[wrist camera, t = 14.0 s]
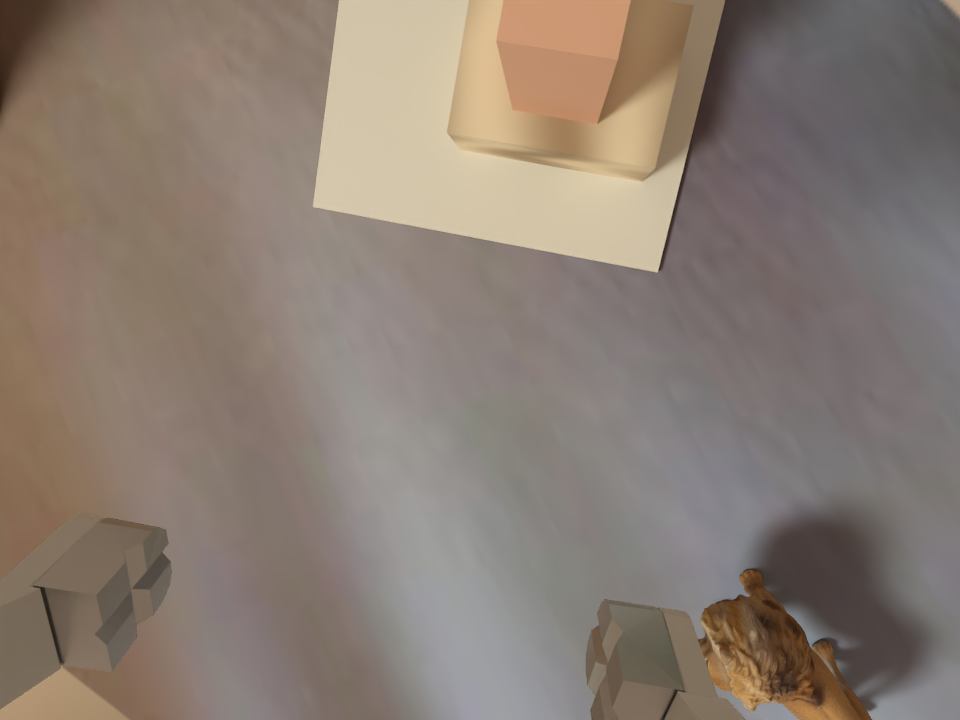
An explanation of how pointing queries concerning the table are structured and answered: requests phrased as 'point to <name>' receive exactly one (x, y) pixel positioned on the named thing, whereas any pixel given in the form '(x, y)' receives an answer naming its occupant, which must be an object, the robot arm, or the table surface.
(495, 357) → the table surface
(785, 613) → the lion figurine
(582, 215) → the mat
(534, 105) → the pillar
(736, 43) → the table surface
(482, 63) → the plinth
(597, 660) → the robot arm
